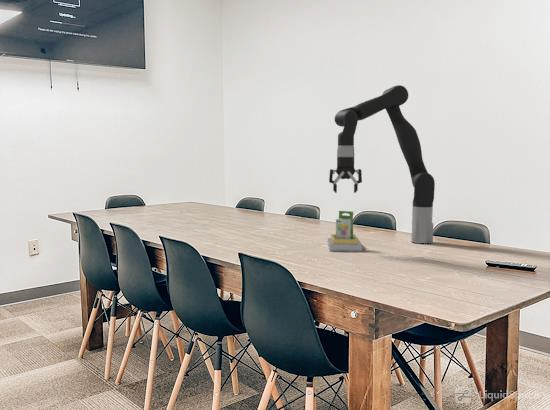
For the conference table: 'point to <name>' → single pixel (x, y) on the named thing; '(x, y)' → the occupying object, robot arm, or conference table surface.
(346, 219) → the ink box
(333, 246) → the white yellow box
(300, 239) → the conference table surface
